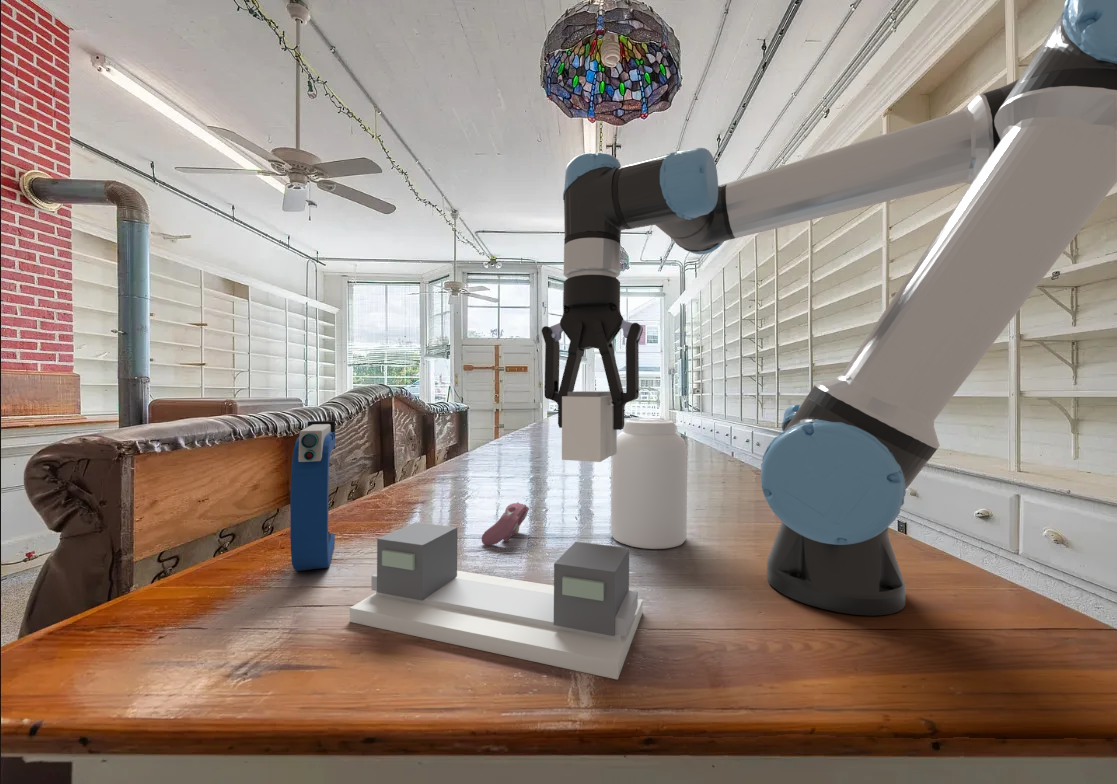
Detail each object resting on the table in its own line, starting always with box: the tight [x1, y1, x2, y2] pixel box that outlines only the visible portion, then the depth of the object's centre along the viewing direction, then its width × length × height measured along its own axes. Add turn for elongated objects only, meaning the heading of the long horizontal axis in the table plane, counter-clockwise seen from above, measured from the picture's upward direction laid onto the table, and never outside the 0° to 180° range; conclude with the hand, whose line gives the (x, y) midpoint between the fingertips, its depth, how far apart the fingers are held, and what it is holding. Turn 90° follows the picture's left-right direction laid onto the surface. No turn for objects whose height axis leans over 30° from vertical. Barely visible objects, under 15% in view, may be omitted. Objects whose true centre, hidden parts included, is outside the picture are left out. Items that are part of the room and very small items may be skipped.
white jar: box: [610, 418, 688, 550], centre depth 80 cm, size 12×12×20 cm
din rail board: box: [349, 521, 644, 680], centre depth 52 cm, size 29×13×8 cm, turn 71°
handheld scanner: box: [289, 420, 336, 572], centre depth 68 cm, size 5×16×20 cm, turn 21°
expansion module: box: [561, 390, 613, 463], centre depth 63 cm, size 5×9×9 cm, turn 160°
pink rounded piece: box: [481, 501, 530, 547], centre depth 79 cm, size 10×5×7 cm, turn 169°
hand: (590, 453), depth 63 cm, fingers closed on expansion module, 5 cm apart
